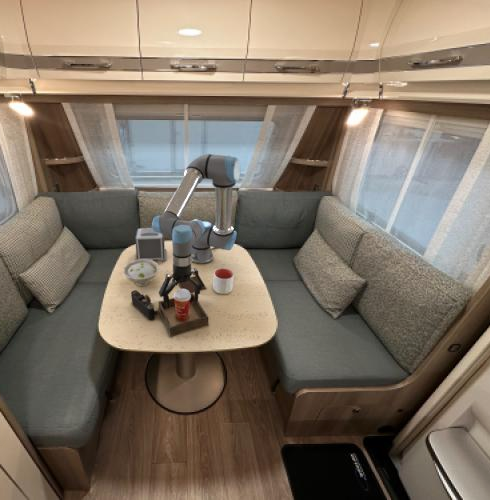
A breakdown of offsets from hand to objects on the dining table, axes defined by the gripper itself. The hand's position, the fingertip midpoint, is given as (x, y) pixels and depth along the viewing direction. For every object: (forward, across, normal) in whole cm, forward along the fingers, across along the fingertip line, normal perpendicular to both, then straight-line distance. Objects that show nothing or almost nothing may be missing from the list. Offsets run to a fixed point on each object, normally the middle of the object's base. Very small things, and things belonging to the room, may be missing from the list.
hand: (182, 303), depth 118 cm
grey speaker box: (+8, -1, -58) cm, 59 cm away
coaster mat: (+8, -13, -21) cm, 26 cm away
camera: (+9, +14, -12) cm, 20 cm away
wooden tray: (+9, 0, 0) cm, 9 cm away
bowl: (+9, +11, -33) cm, 36 cm away
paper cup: (+9, 0, 0) cm, 9 cm away
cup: (+8, -27, -12) cm, 31 cm away
